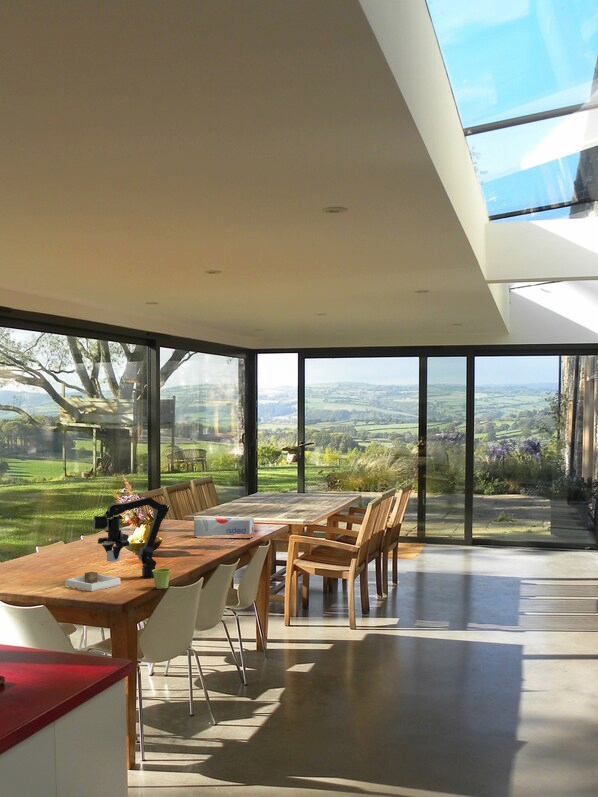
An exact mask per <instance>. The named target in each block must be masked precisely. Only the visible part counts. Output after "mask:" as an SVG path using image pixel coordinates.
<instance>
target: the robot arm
mask: <svg viewBox="0 0 598 797" xmlns="http://www.w3.org/2000/svg"><path fill="white" fill-rule="evenodd" d="M145 506H149V507H151V508H152V509H154V510H153V521H152V523H151V526H150V528H149V532H148V535H147V537H146V540H145V544H144V545H143V547H142V546H140V547H139V551H138V552H137V555H138V557H137V558H138V560H139V561H140V562H141V564H142V571H141V574H142V575H141V576H139V578H142V577H143V579H148V578H149V579H154V578H153V577H154V575H153V572H152V570H154V569H156V566H157V562H156V560H155V559H153V554H154V546H155V542H156V539H157V536H158V533H159V531H160V528H161V525H162V522H163V520H164V519H165V518H166V516H167V514H168V512H169V507H168V505H166V503H165V504H164V503H161V502H158V501H157V500H155V499H153V498H152V497H150V496H146V497H142V498H139V499H134V500H132V501H127V502H116V503H110V504H108V506H107V508H106V509H107V510H106V511H105V512H104V514H103V515H94V516H93V521H92V527H93V528H92V529H93V530H105V529H106V528H107V529H106V530H105V532H106V533H107V536H104V537H98V539H97V544H100V545H101V546H102V547H103V548H104V551H105V552H106V554H107V551H111V550H113V552H114V557H115V559H117V558H118V556H119V553H121V550H122V549H123V548H124V547H130V540H128V539H129V534H125V533H122V530H121V529H120V520H121V521H122V520H124V517H123V516H122V515H121V514H123V513H125V512H127V511H129V510H133V509H137V508H141V507H145Z"/></svg>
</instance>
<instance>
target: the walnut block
mask: <svg viewBox="0 0 598 797" xmlns="http://www.w3.org/2000/svg"><path fill="white" fill-rule="evenodd" d="M84 576H85V583H90V584H93V583H97V582H98V572H95V571H89V572H84Z"/></svg>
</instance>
